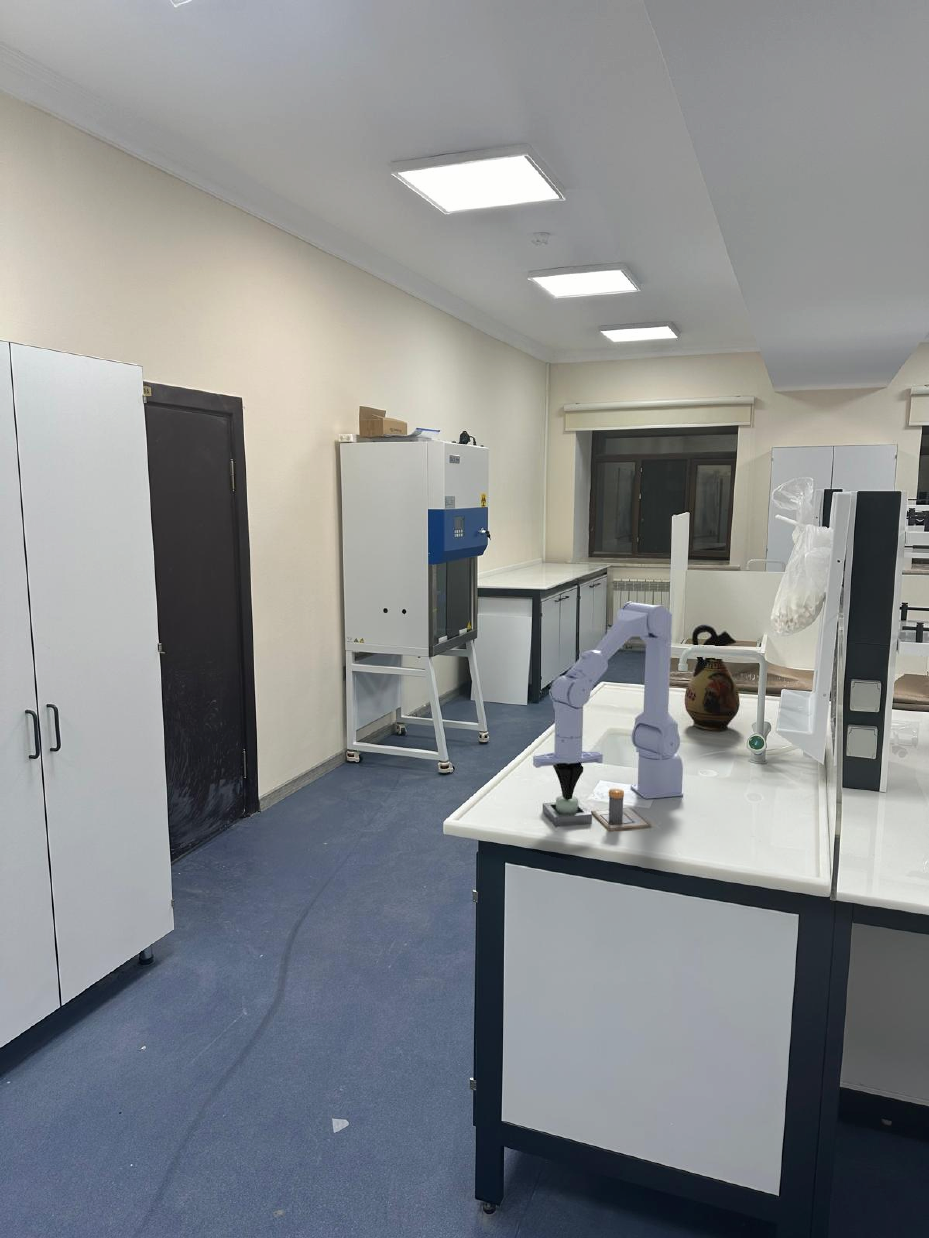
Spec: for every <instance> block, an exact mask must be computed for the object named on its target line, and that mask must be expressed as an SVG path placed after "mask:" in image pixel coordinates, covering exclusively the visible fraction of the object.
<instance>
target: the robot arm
mask: <svg viewBox="0 0 929 1238" xmlns="http://www.w3.org/2000/svg"><path fill="white" fill-rule="evenodd" d="M672 618H673V614H672V612H670V611H669V610H668V609H667V607H665V606H663V605H655V604H654V605H653V604H647V603H640V602H635V601H631V600H630V601H627V602H625V603H624V604H623V605H622V606H621V608H620V609H619V610H618V611H617V612H616V617H615V619H616V620H615V622H614V624H613V625H612V626H611V628H610V629H609V630H608V631H607V633H606V634H605V636H603V638H602V640H601V641H600V642H599V643H598V644H597V646H596V648H595V649H590V650H589V649H588V650H586V651H583V652H582V653H581V655H580V657H579V659H578V660H577V661H576V662H575V663H574V664H573V666H571V668H570V669H569V670H567V672H566V673H565V674H564V675H561V676H560V675H559V676H558V677H556V678H555V679H554V680H553V681H552V684H551V687H550V689H549V690H548V693H549V697H550V699H551V701H552V703H553V704H552V706H553V707H552V708H553V709H554V745H553V748H554V751H553V752H549V753H545V754H539V755H532V757H533V759H532V765H533V766H534V768H537V769H538V768H542V767H549V766H552V767H553V770H554V771H555V774H556V777H557V778H558V781H559V784H560V789H561V796H563V797H564V798H565V799H572V796H573V795H574V791H575V788H576V785H577V783H578V781H579V779H580V778H581V776H582V774H583V772H584V766H583V764H589V763H590V764H591V763H594V764H595V763H597V764H602V763H603V761H604V760H603V759H604V758H603V756H604V755H603V753H601V752H600V751H588V750H587V751H586V750H584V751H583V735H584V734H583V731H584V705H586V704H588V702H589V701H590V698H591V693H592V691H593V688H594V685H595V684H596V683H597V681H598V680H599V679H600V678H601V677H602V676H603V675H604V673H605V672H606V671H607V670H608V668H609V667H608V666H609V665H608V660H609V659H611V657H612V656H614V654H615V653H616V652H617V651H619V650H620V648H622V647H623V646H624V644H625V643H627V641H629V639H631V638H637V637H639V638H640V640H642V641H643V642H644V643H645V660H644V661H645V663H644V664H645V665H644V667H645V668H644V684H643V687H644V688H643V689H644V690H643V710H642V712H641V713H640V714H638V715H637V716H636V717H635V718H634V726H633V728H632V732H631V743H632V745H633V746H634V747H636V750H635V751H636V752H637V753H638V764H637V765H638V766H637V767H638V768H637V784H631V785H630V788H631V789H632V790H633V791H635V792H636V793H637V794H639V795H640V797H642V798H643V799H646V800H647V799H658V798H659V799H660V798H661V799H662V798H671V797H683V796H684V792H683V775H684V774H683V773H684V772H683V771H684V766H683V765H684V764H683V761H682V758H681V756H680V755H679V753H677V752H678V751H679V750H680V749H679V748H680V745H681V737H680V733H679V724H678V722H677V721H676V719H674V717H673V716H671V714H670V713H669V705H670V704H669V702H670V700H669V699H670V682H671V681H670V678H671V657H672V656H671V655H672Z"/></svg>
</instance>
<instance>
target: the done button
mask: <svg viewBox="0 0 929 1238" xmlns="http://www.w3.org/2000/svg"><path fill="white" fill-rule="evenodd" d="M578 801H579V799H578V797H576V796H573V795H572V799H565V798H564V797H563V796H562V795H559V796H557V797H556V798H555V802H556V812H557V813H558V814H559V815H562V814H573V813H578Z"/></svg>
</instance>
